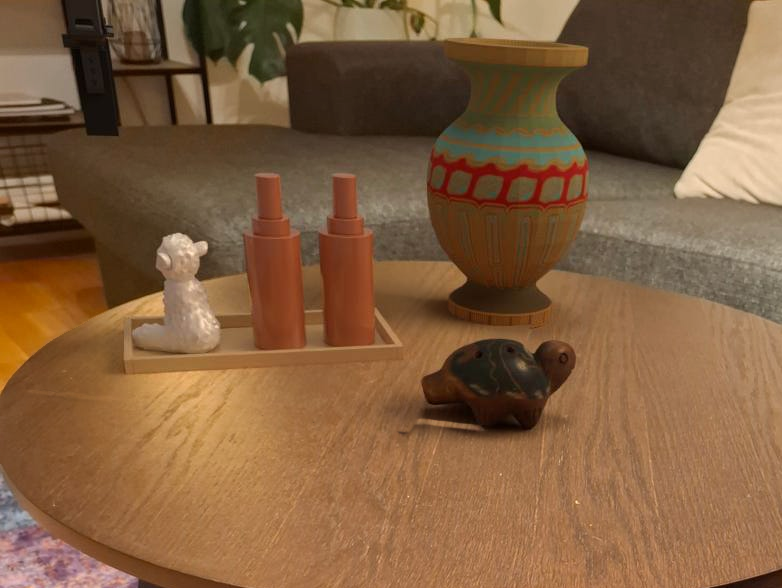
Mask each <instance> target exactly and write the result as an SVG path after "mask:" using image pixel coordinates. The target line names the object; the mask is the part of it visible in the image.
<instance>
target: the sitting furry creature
mask: <svg viewBox="0 0 782 588" xmlns="http://www.w3.org/2000/svg"><path fill="white" fill-rule="evenodd" d="M208 245H209V243H208V242H207V241H206V240H200V241H197V242H194V241H193V240H192V239H191V238H190V237H189V236H188V235H187V234H184V233H183V234H182V233H181V232H176V233H172V234H168V235H166V236H163V237H162V242H161V244H160V246H159V247H158V248H157V249H156V262H155V268H156V269H157V270H158V271H160V272H161V273H162V276H163V277H164V278H165V280H164V281H163V286H164V289H163V292H162V295H163V297H162V305H163V306H164V307H163V309H164V310H163V313H164V316H165V317H164V324H165V325H162V326H160V325H159V324H157V323H155V324H152V325H150V324H147V323H144V324H143V325H142V326H141V327H138V328H136V329H134V330H133V332H132V339H133V342H134V344H135V345H136V346H137V347H139V348H142V349H145V350H155V351H164V352H173V353H184V354H201V353H205V352H209V351H211V350H213V349H214V348H215V347H216V346H217V345H218V344H219V342H220V340H219V339H220V333H221V330H220V323H219V322H218V320H217V319H216V318H215V314H216V313H215V311H214V310H212V307H211V304H209V301H210V300H209V295H208V293H207V291H206V288H205V287H204V286H203V283H202V282H201V281H200V280H199V279H198V278H196V277H195V276H196V275H197V274H198V271H199V268H200V265H201V263H200V262H201V261H200V260H201V259H200V257H202V256H205V255H207V253H208V250H209V246H208Z"/></svg>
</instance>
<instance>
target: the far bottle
mask: <svg viewBox="0 0 782 588" xmlns="http://www.w3.org/2000/svg"><path fill="white" fill-rule="evenodd" d="M330 177H331V178H330V179H331V196H332V197H331V198H332V201H331V202H332V212H331V213H330V212H329V213H328V214H326V226H322V227H319V228H318V230H317V236H318V259H319V275H320V277H319V278H320V279H319V280H320V294H321V295H320V296H321V298H320V299H321V310H322V318H323V337H324V342H325V343H326V344H328V345H330V346H333V347H350V346H370V345H372V344H373V343H374V342H375V308H376V307H375V260H374V259H375V257H374V256H375V254H374V253H375V251H374V249H375V248H374V231H373V230H372V229H371V228H368V227H365V217H364V215H362V214H361V213H358V197H357V195H358V192H357V175H355V174H354V173H348V172H336V173H332V174H331V176H330Z"/></svg>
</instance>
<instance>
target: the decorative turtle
mask: <svg viewBox="0 0 782 588" xmlns="http://www.w3.org/2000/svg"><path fill="white" fill-rule="evenodd" d="M576 362H577V355H576V352H575V350H574V348H573V346H572V345H571V344H570V343H567V342H565V341H562V340H558V339H557V340H555V339H552V340H551V339H550V340H546V341H543V342H541V343H540V345H539V346H538V347H537V348H536V350H535V352H531V351H530V350H529V348H528V347H526V345H524V344H523V343H521V342H520V341H517V340H514V339H508V338H486V339H480V340H477V341H474V342H472V343H468V344H465V345H462V346H461V347H458V348H457V349H455V350H454V351H453V352H451V354H449V355H448V356H447V358H446V359H445V360H444V362H443V363H442V366H441V368H440V369H439V370H436V371H435V372H432V373H429V374H427V375H425V376H422V378H421V381H420V383H421V388H422V392H423V397H424V399H425V401H426V402H427V404H428V405H431V406H443V405H444V406H445V405H453V404H454V405H455V404H466V405H468V407H470V409H471V411H472V412H473V415H474V418H475V420H476V423H478V424H479V426H480V427H481V428H483V429H490V428H493V427H494V426H495V425H497V424H498V423H499V422H501V420H503V419H504V418H505V417H507V416H509V415H512V416H513V418H515V420H516V421H517V423H519V425H520V426H522V427H523V428H524V429H526V430H530V429H531V430H532V429H533V428H534V427H536V426H537V425H538V424H539V422H540V419H541V417H542V414H543V412H544V409H545V407H546V405H547V403H548V400H549V398H550V397H551V396H552V395H553V394H554V393H556V392H557V391H558V390H559V389H560V388H562V386H563V385H564V384H565V382H567V380H568V378H569V377H570V376H571V374H572V372H573V370H574V369H575V367H576Z"/></svg>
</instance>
